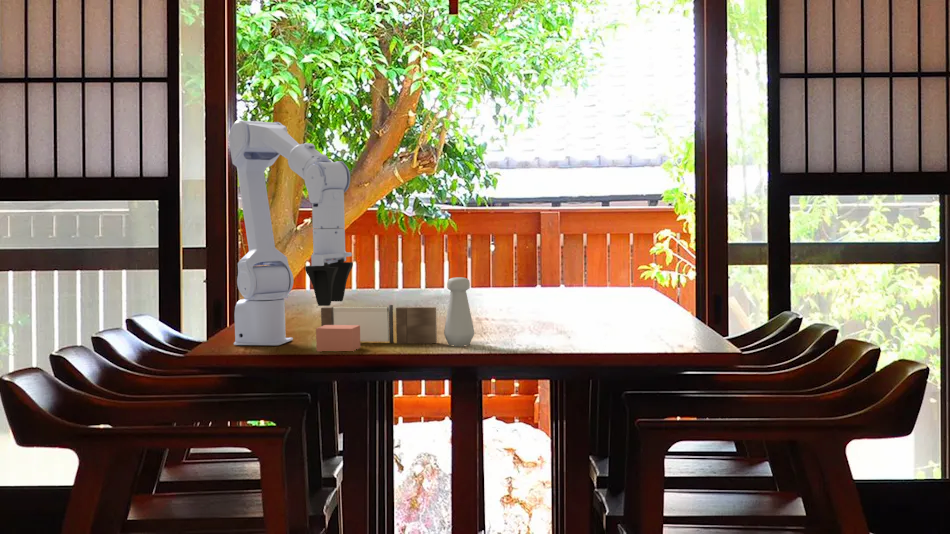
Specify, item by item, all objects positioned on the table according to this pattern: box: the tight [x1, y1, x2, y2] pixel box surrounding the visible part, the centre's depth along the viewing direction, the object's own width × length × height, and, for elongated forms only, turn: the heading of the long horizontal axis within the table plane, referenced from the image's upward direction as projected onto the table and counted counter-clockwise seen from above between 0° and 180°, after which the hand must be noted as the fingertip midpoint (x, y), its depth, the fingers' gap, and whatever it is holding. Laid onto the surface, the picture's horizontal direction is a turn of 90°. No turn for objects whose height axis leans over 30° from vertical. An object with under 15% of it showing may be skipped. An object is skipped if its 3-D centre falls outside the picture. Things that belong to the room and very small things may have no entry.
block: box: [315, 325, 361, 352], centre depth 177 cm, size 7×5×4 cm
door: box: [333, 306, 390, 343], centre depth 186 cm, size 11×1×7 cm, turn 81°
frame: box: [320, 304, 438, 345], centre depth 185 cm, size 23×2×8 cm, turn 81°
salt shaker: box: [443, 276, 475, 347], centre depth 180 cm, size 6×6×13 cm
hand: (330, 303), depth 170 cm, fingers open, 7 cm apart
